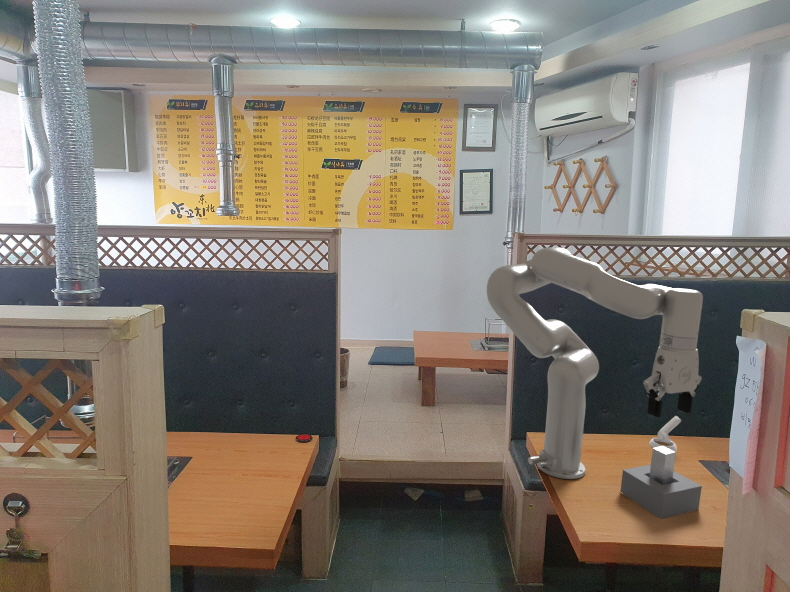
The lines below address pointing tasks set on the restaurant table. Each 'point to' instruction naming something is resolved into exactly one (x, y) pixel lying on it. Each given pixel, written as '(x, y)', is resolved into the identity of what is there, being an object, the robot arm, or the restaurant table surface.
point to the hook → (666, 435)
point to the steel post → (662, 465)
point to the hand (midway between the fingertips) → (668, 413)
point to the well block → (661, 492)
